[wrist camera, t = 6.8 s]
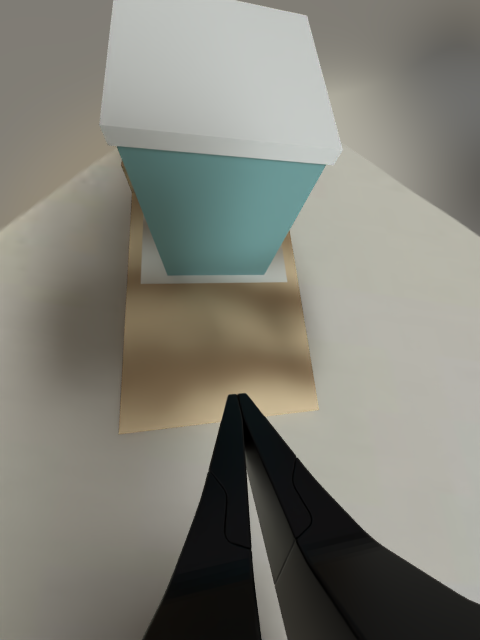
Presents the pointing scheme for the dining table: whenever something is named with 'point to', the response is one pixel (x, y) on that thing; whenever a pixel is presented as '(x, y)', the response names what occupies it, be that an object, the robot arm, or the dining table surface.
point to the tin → (217, 126)
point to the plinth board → (209, 340)
